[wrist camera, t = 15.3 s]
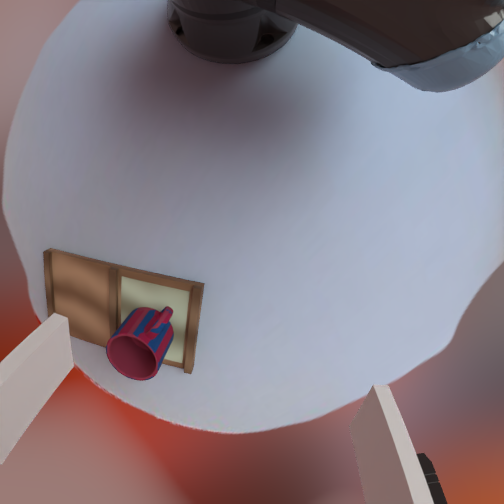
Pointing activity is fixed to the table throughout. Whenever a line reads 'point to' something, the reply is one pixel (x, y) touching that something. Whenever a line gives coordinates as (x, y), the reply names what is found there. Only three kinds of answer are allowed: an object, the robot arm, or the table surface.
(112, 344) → the mug
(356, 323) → the table surface
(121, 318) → the brown divided flat frame
